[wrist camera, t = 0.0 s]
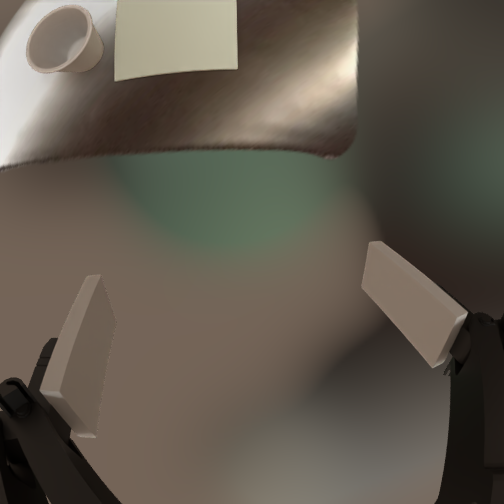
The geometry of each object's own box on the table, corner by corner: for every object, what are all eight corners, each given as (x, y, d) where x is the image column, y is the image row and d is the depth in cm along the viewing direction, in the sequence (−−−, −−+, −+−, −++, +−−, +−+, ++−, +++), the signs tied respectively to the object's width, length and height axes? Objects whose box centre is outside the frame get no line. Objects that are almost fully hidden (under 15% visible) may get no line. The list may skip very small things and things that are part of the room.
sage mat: (120, -15, 22) (119, -17, 22) (235, -25, 25) (236, -27, 24) (116, 81, 29) (114, 81, 29) (236, 69, 32) (237, 68, 32)
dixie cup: (120, 27, 26) (102, 2, 17) (104, 82, 29) (78, 72, 20) (68, 28, 23) (39, 8, 15) (52, 81, 27) (17, 75, 18)
